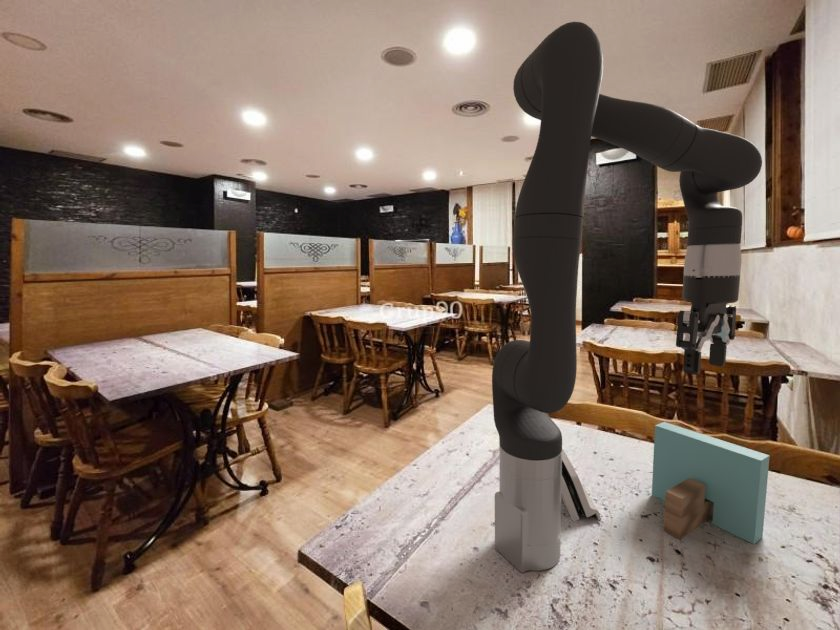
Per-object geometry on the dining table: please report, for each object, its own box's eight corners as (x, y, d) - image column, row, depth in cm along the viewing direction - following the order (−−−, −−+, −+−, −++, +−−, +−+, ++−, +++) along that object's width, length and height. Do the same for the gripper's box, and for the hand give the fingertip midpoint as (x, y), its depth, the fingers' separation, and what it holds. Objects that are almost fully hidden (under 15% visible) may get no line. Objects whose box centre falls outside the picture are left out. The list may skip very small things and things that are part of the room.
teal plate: (651, 494, 76) (655, 425, 74) (660, 489, 77) (663, 421, 75) (754, 544, 62) (761, 460, 60) (762, 537, 63) (769, 455, 62)
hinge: (602, 521, 68) (583, 470, 67) (576, 529, 69) (557, 478, 68) (572, 471, 85) (556, 429, 84) (551, 478, 85) (535, 436, 84)
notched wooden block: (679, 539, 63) (681, 498, 63) (663, 530, 66) (665, 491, 65) (736, 499, 73) (739, 464, 73) (721, 492, 76) (723, 458, 75)
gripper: (707, 272, 71) (701, 359, 73) (663, 274, 64) (658, 370, 66) (758, 272, 65) (750, 367, 67) (715, 274, 58) (708, 381, 60)
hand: (704, 369), depth 67 cm, fingers open, 8 cm apart
